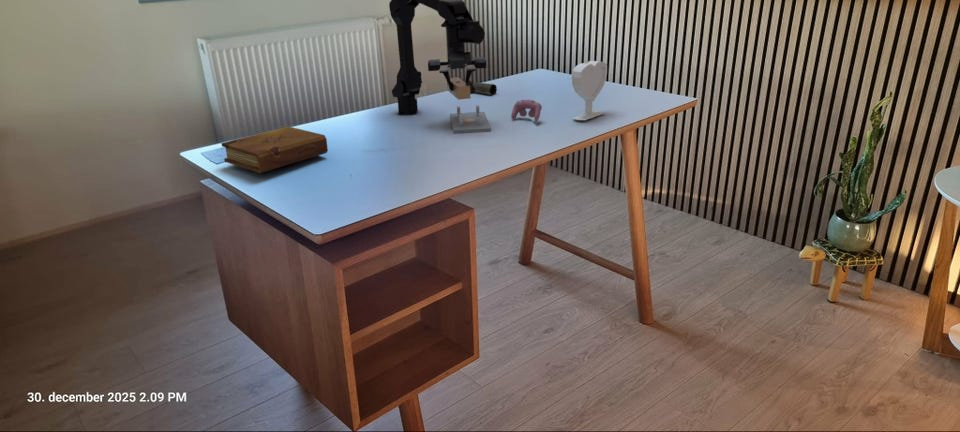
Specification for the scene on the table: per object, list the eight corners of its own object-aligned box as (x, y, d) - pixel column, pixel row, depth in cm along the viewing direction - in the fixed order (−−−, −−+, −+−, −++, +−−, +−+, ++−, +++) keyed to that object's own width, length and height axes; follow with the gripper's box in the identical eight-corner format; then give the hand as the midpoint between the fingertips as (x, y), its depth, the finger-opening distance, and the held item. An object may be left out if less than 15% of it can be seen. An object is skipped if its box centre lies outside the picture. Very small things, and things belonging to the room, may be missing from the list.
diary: (261, 174, 184) (258, 154, 182) (224, 162, 195) (221, 143, 193) (328, 153, 200) (326, 134, 198) (290, 143, 211) (288, 125, 209)
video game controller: (541, 122, 226) (543, 101, 225) (537, 121, 222) (539, 100, 221) (514, 119, 230) (516, 99, 229) (509, 119, 226) (511, 98, 225)
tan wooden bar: (458, 99, 212) (457, 86, 211) (447, 90, 227) (446, 78, 225) (470, 98, 213) (469, 85, 212) (458, 89, 228) (458, 76, 226)
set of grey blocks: (459, 126, 218) (459, 115, 217) (457, 116, 230) (456, 106, 229) (482, 125, 219) (482, 114, 217) (479, 115, 231) (478, 105, 229)
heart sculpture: (581, 121, 223) (582, 66, 216) (569, 119, 226) (570, 65, 219) (607, 112, 233) (609, 59, 226) (595, 110, 236) (597, 58, 229)
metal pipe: (497, 94, 262) (496, 79, 259) (487, 97, 257) (486, 82, 255) (462, 91, 272) (461, 77, 270) (451, 94, 267) (450, 80, 265)
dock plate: (453, 133, 214) (453, 130, 214) (450, 116, 234) (450, 113, 234) (490, 131, 215) (490, 127, 215) (484, 114, 235) (484, 111, 235)
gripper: (426, 47, 206) (429, 97, 212) (486, 43, 207) (488, 94, 213) (426, 42, 216) (429, 90, 222) (484, 39, 217) (486, 87, 223)
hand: (458, 90), depth 220 cm, fingers closed on tan wooden bar, 4 cm apart
